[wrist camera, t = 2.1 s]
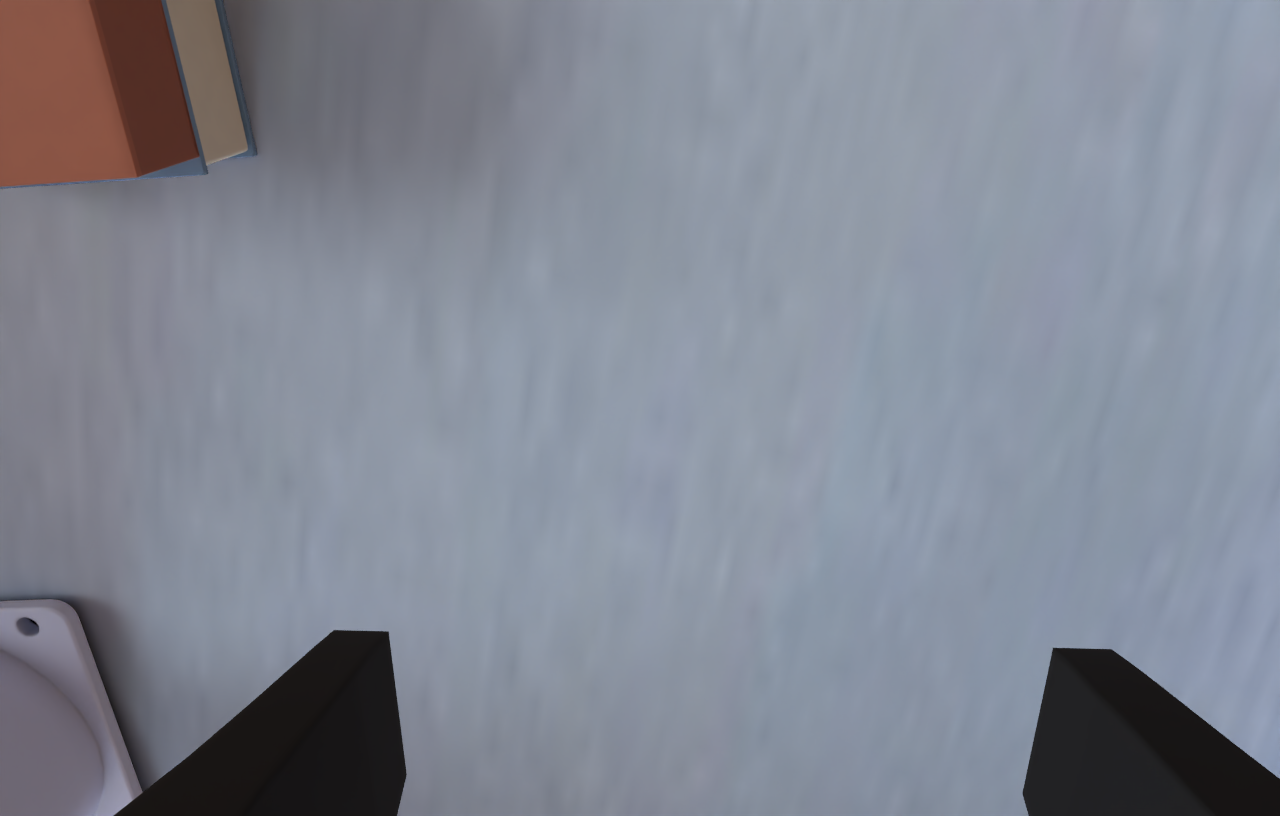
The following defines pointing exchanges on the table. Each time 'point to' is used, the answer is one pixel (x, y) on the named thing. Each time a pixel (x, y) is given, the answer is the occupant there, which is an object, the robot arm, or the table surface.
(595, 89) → the table surface
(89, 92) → the book stack
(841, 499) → the table surface
